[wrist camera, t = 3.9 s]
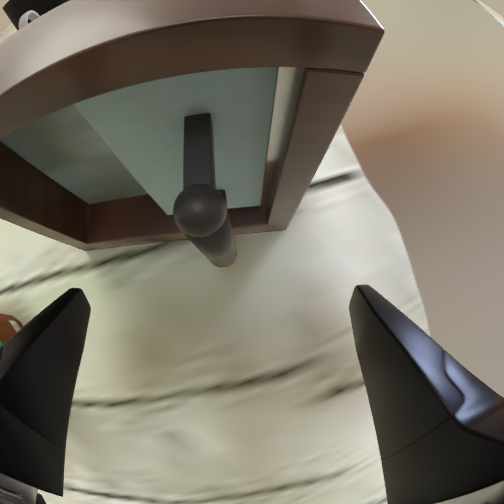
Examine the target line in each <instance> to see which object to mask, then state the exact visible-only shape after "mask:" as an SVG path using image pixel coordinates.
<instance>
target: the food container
mask: <svg viewBox="0 0 504 504" xmlns="http://www.w3.org/2000/svg"><path fill="white" fill-rule="evenodd" d="M22 327H23V325H22V323H21V322H20V321H18V320H17V319H16V318H14V317H13V316H10V315H5V314H0V347H1V346H2V345H4V343H5V342H6V341H8V340H9V339H10V338H11V337H12V336H13V335H14V334H15V333H17V332H18V331H19V330H20V329H21V328H22Z"/></svg>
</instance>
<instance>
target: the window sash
mask: <svg viewBox="0 0 504 504" xmlns="http://www.w3.org/2000/svg"><path fill="white" fill-rule="evenodd" d="M278 71H279V67H258V68H239V69H227V70H216V71H208V72H200V73H193V74H186V75H180V76H174V77H169V78H164V79H159V80H154V81H150V82H145V83H141V84H137V85H133V86H129V87H125V88H122V89H118V90H115V91H111V92H108V93H105V94H102V95H98V96H95V97H92V98H90V99H87V100H84V101H81V102H78V103H76V104H73V105H74V106H75V107H76V109H77V110H78V111H79V112H80V114H81V115H82V116H83V117H84V119H85V120H86V121H87V122H88V123H89V125H90V126H91V127H92V128H93V130H94V131H95V132H96V133H97V134H98V136H99V137H100V138H101V139H102V140H103V142H104V143H105V144H106V145H107V146H108V148H109V149H110V150H111V151H112V152H113V153H114V155H115V156H116V157H117V158H118V159H119V160H120V162H121V163H122V164H123V165H124V166H125V167H126V169H127V170H128V171H129V172H130V173H131V174H132V176H133V177H134V178H135V179H136V180H137V181H138V182H139V184H140V185H141V186H142V187H143V188H144V189H145V190H146V191H147V193H148V194H149V195H150V196H151V197H152V198H153V199H154V200H155V202H156V203H157V204H158V205H159V206H160V207H161V208H162V209H163V210H164V212H165V213H166V214H167V215H173V216H174V220H175V222H176V224H177V226H178V227H179V229H180V230H181V231H182V232H183V233H184V234H185V235H186V236H187V237H188V238H189V239H190V241H191V242H192V243H193V244H194V245H195V246H196V247H197V248H198V249H199V250H200V251H201V252H202V253H203V254H204V255H205V256H206V257H207V258H208V259H209V261H210V262H211V263H212V264H214V265H215V266H217V267H227V266H229V265H231V264H232V263H233V262H234V261H235V259H236V256H237V250H236V245H235V241H234V236H233V232H232V227H231V223H230V218H229V214H228V208H239V207H250V206H260V205H261V200H262V192H263V185H264V177H265V170H266V162H267V155H268V147H269V139H270V132H271V124H272V117H273V109H274V101H275V94H276V86H277V78H278Z"/></svg>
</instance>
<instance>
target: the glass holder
mask: <svg viewBox="0 0 504 504" xmlns="http://www.w3.org/2000/svg"><path fill="white" fill-rule="evenodd" d="M67 1H70V0H9V1H8V2H7V3H6V4H5V6H4V7H3V10H4V11H5V13H6V14H7V16H8V17H9V18H10V20H11V22H12V23H13V25H14V26H15V27H16V29H17V30H20V29H21V28H23V27H24V26H26V25H27V24H29V23H30V22H32V21H33V20H35V19H37V18H38V17H40V16H42V15H43V14H45V13H47V12H49V11H50V10H52V9H54V8H56V7H58V6H60V5H62V4H64V3H65V2H67Z"/></svg>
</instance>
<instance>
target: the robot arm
mask: <svg viewBox="0 0 504 504" xmlns="http://www.w3.org/2000/svg"><path fill="white" fill-rule="evenodd" d="M349 311H350V317H351V322H352V328H353V334H354V340H355V346H356V351H357V355H358V359H359V363H360V367H361V371H362V374H363V378H364V382H365V386H366V390H367V394H368V399H369V403H370V407H371V412H372V416H373V421H374V425H375V430H376V435H377V440H378V445H379V450H380V456H381V461H382V468H383V474H384V481H385V487H386V495H387V502H388V504H504V398H503V397H502V396H500V395H498V394H497V393H496V392H494V391H493V390H492V389H491V388H489V387H488V386H487V385H486V384H484V383H483V382H482V381H481V380H479V379H478V378H477V377H476V376H474V375H473V374H472V373H470V372H469V371H468V370H467V369H466V368H464V367H463V366H462V365H461V364H460V363H459V362H458V361H456V360H455V359H454V358H453V357H452V356H451V355H450V354H449V353H448V352H446V351H445V350H444V349H443V348H442V347H441V346H440V345H439V344H437V343H436V342H435V341H434V340H433V339H432V338H431V337H430V336H429V335H427V334H426V333H425V332H424V331H423V330H422V329H421V328H419V327H418V326H417V325H416V324H415V323H414V322H412V321H411V320H410V319H409V318H408V317H407V316H405V315H404V314H403V313H402V312H401V311H400V310H398V309H397V308H396V307H395V306H394V305H392V304H391V303H390V302H389V301H388V300H386V299H385V298H384V297H383V296H382V295H380V294H379V293H378V292H377V291H376V290H374V289H373V288H372V287H371V286H369V285H357V286H355V288H354V291H353V294H352V297H351V301H350V304H349ZM90 312H91V309H90V304H89V302H88V300H87V298H86V296H85V294H84V292H83V291H82V290H81V289H80V288H71V289H69V290H68V291H66V292H65V293H64V294H62V295H61V296H60V297H59V298H57V299H56V300H55V301H54V302H52V303H51V304H50V305H49V306H47V307H46V308H45V309H44V310H42V311H41V312H40V313H39V314H38V315H36V316H35V317H34V318H33V319H32V320H30V321H29V322H28V323H27V324H26V325H25V326H23V327H22V328H21V329H20V330H19V331H18V332H17V333H15V334H14V335H13V336H12V337H11V338H10V339H9V340H8V341H6V342H5V343H4V345H2V346H1V347H0V504H46V502H45V501H44V499H43V497H42V495H41V494H39V493H37V491H38V489H40V490H43V491H46V492H49V493H52V494H55V495H58V496H62V497H63V481H64V462H65V449H66V439H67V431H68V424H69V417H70V411H71V405H72V399H73V394H74V389H75V384H76V379H77V375H78V370H79V366H80V362H81V358H82V354H83V349H84V344H85V338H86V333H87V327H88V322H89V317H90Z"/></svg>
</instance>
